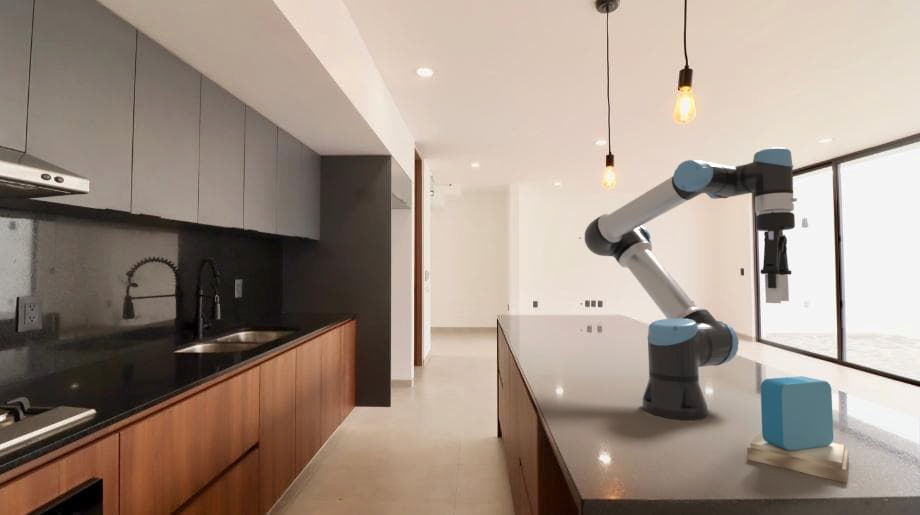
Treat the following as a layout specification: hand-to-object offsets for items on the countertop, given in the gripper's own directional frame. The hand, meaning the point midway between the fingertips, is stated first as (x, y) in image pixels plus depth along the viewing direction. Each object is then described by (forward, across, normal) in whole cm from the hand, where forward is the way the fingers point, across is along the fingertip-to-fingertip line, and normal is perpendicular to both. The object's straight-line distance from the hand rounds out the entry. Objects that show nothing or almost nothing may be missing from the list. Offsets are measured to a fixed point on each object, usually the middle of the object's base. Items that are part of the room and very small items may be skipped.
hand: (777, 302), depth 103 cm
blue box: (+26, -23, -5) cm, 35 cm away
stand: (+29, -23, -5) cm, 37 cm away
